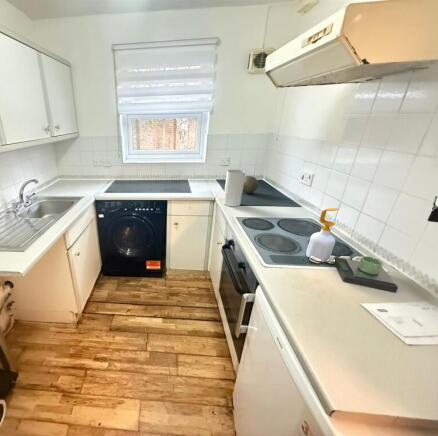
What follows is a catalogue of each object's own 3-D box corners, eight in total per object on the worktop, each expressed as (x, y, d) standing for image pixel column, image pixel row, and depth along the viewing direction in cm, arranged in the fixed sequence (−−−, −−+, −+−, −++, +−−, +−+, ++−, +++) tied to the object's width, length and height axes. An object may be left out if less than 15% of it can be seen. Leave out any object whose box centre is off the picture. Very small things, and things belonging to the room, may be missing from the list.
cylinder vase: (243, 204, 180) (248, 171, 170) (235, 208, 172) (240, 173, 162) (227, 200, 188) (232, 168, 178) (219, 204, 180) (223, 171, 170)
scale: (378, 269, 101) (380, 263, 100) (395, 292, 88) (399, 286, 87) (333, 261, 107) (335, 255, 106) (343, 281, 94) (345, 275, 93)
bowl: (375, 267, 97) (379, 258, 96) (381, 276, 92) (386, 266, 90) (355, 264, 100) (359, 254, 98) (360, 272, 94) (364, 262, 93)
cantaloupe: (238, 190, 213) (241, 174, 207) (255, 192, 209) (258, 175, 203) (238, 195, 200) (241, 177, 195) (257, 196, 196) (260, 178, 190)
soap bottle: (323, 264, 105) (341, 213, 95) (301, 255, 112) (316, 207, 102) (332, 258, 109) (350, 209, 100) (311, 250, 116) (325, 203, 107)
